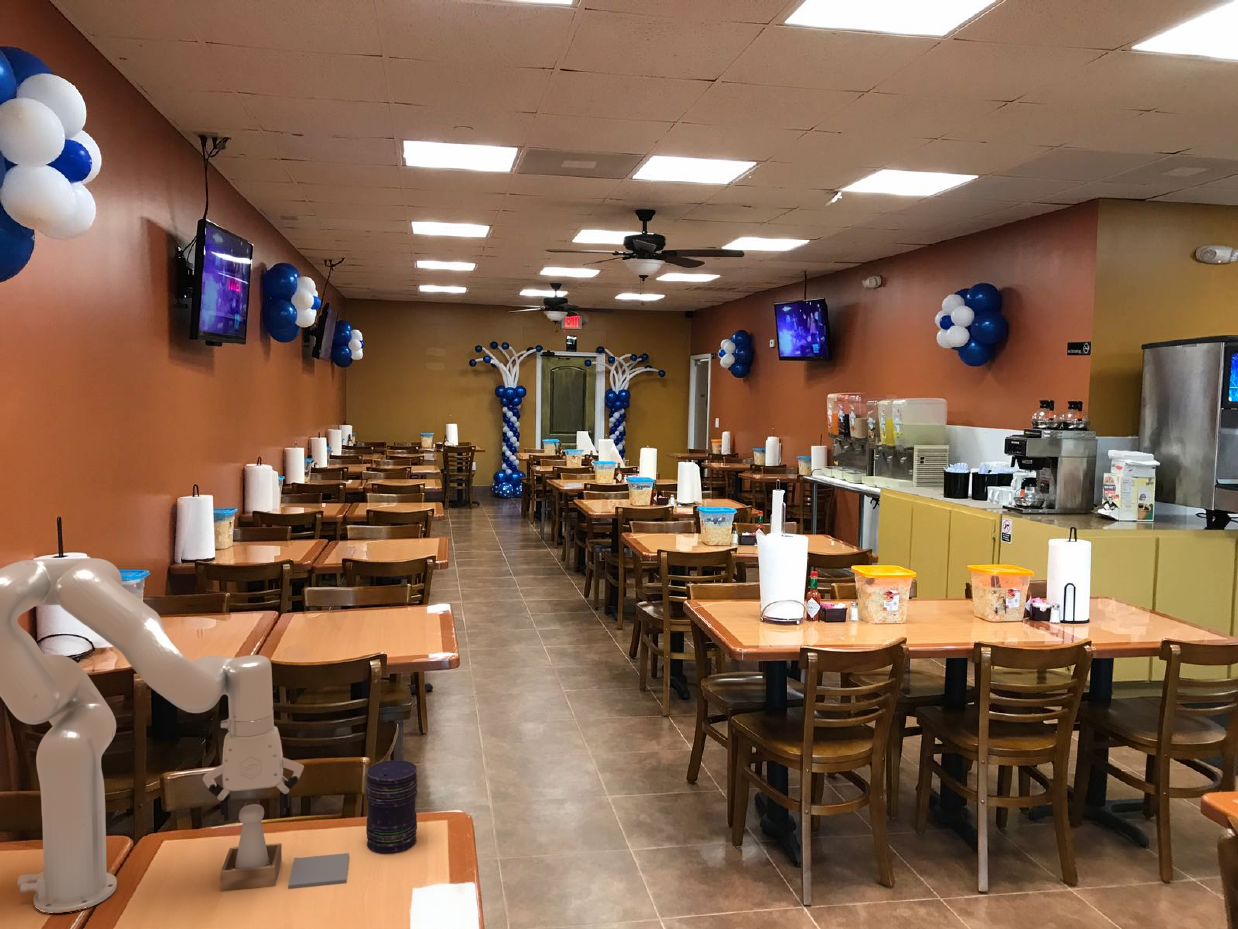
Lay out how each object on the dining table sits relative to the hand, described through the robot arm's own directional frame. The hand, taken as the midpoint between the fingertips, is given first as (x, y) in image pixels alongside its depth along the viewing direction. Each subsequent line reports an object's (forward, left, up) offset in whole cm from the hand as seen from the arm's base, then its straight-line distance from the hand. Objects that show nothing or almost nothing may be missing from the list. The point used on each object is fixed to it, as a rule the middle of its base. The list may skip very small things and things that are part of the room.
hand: (255, 815), depth 168 cm
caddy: (-1, 0, -12) cm, 11 cm away
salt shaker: (-1, 0, -12) cm, 12 cm away
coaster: (+11, -1, -12) cm, 16 cm away
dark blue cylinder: (+24, +8, -12) cm, 28 cm away
